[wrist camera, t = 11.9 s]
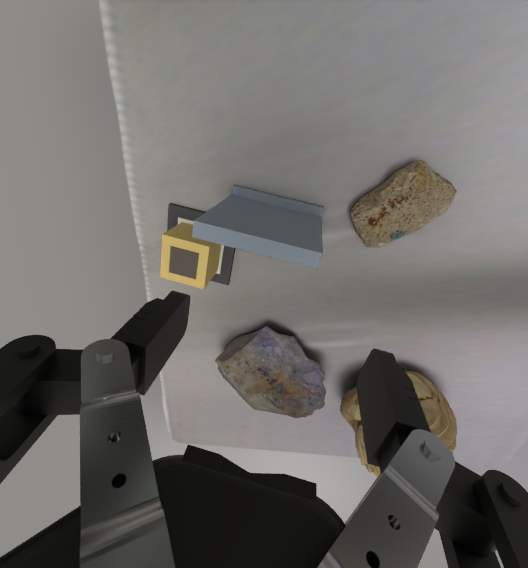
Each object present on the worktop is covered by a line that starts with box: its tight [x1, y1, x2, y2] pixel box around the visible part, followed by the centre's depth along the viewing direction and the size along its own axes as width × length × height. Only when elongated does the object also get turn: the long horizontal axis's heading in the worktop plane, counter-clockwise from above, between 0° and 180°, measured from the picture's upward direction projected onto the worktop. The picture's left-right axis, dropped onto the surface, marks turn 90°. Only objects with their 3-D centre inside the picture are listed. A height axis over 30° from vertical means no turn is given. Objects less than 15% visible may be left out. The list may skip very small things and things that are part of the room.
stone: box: [215, 326, 326, 418], centre depth 46 cm, size 18×10×15 cm
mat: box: [167, 203, 235, 285], centre depth 43 cm, size 10×10×1 cm
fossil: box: [340, 371, 457, 477], centre depth 43 cm, size 15×17×15 cm
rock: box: [350, 160, 456, 247], centre depth 35 cm, size 8×11×4 cm
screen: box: [192, 185, 324, 269], centre depth 33 cm, size 4×12×14 cm, turn 78°
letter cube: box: [160, 222, 222, 289], centre depth 40 cm, size 6×6×6 cm
